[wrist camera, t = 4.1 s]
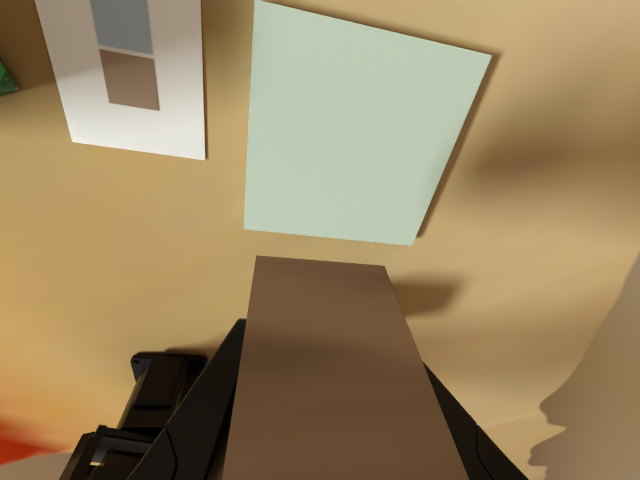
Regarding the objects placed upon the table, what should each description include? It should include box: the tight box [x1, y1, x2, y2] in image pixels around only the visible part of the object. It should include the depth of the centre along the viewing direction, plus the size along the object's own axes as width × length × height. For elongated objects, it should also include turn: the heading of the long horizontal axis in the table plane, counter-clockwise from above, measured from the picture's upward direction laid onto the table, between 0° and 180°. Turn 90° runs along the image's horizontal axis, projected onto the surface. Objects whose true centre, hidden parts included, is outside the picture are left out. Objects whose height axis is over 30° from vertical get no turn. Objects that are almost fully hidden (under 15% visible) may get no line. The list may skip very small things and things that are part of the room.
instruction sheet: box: [35, 0, 205, 160], centre depth 14 cm, size 10×7×1 cm
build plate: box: [244, 0, 492, 246], centre depth 18 cm, size 12×12×1 cm
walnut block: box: [222, 255, 469, 480], centre depth 8 cm, size 4×4×6 cm
